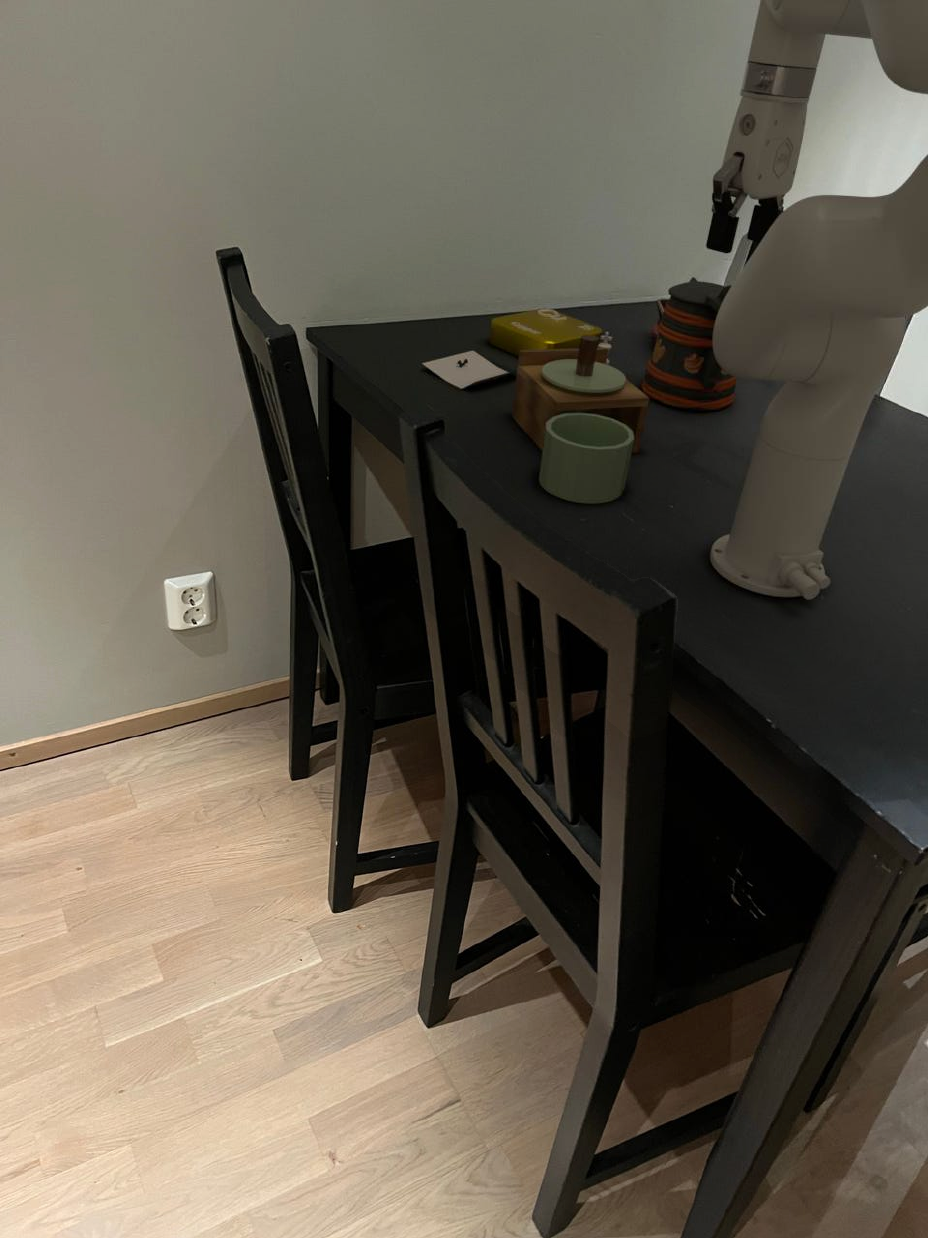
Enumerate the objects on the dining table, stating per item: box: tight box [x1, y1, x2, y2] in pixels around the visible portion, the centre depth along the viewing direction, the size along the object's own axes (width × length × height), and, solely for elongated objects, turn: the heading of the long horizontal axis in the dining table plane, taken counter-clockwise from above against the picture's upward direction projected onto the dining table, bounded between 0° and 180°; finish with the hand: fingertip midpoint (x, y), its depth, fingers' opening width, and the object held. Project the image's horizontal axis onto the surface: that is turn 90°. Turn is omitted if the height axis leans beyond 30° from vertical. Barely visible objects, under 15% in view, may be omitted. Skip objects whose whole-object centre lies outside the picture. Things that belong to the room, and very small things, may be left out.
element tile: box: [489, 307, 603, 358], centre depth 161 cm, size 15×15×5 cm
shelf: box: [511, 348, 650, 454], centre depth 129 cm, size 14×14×10 cm
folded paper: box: [421, 350, 517, 390], centre depth 148 cm, size 12×12×2 cm
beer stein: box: [641, 276, 738, 412], centre depth 141 cm, size 19×15×20 cm
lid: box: [542, 335, 627, 393], centre depth 125 cm, size 12×12×6 cm
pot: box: [538, 412, 634, 505], centre depth 116 cm, size 11×11×7 cm
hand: (738, 245), depth 111 cm, fingers open, 9 cm apart
